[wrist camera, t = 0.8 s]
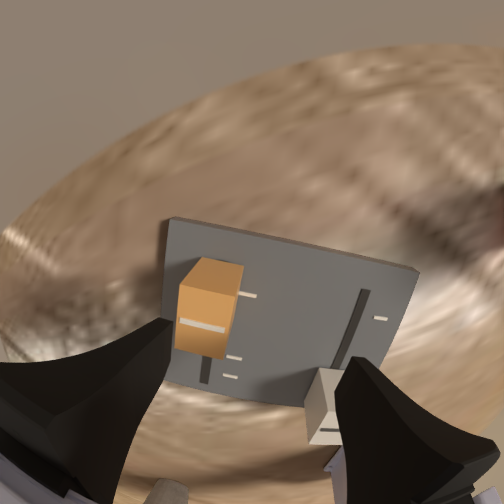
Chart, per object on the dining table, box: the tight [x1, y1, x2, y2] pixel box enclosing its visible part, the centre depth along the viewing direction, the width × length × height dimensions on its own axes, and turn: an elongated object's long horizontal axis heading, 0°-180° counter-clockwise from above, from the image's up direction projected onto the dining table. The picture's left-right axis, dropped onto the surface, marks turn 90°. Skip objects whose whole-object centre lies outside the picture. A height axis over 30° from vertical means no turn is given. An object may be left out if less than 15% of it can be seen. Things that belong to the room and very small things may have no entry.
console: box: [161, 217, 420, 408], centre depth 20 cm, size 14×18×1 cm
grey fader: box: [304, 368, 345, 445], centre depth 18 cm, size 4×3×5 cm
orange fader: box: [174, 257, 244, 360], centre depth 16 cm, size 4×3×5 cm
